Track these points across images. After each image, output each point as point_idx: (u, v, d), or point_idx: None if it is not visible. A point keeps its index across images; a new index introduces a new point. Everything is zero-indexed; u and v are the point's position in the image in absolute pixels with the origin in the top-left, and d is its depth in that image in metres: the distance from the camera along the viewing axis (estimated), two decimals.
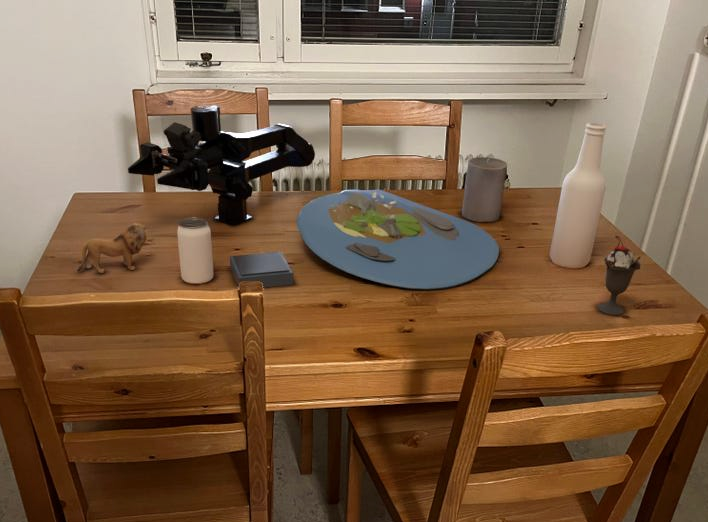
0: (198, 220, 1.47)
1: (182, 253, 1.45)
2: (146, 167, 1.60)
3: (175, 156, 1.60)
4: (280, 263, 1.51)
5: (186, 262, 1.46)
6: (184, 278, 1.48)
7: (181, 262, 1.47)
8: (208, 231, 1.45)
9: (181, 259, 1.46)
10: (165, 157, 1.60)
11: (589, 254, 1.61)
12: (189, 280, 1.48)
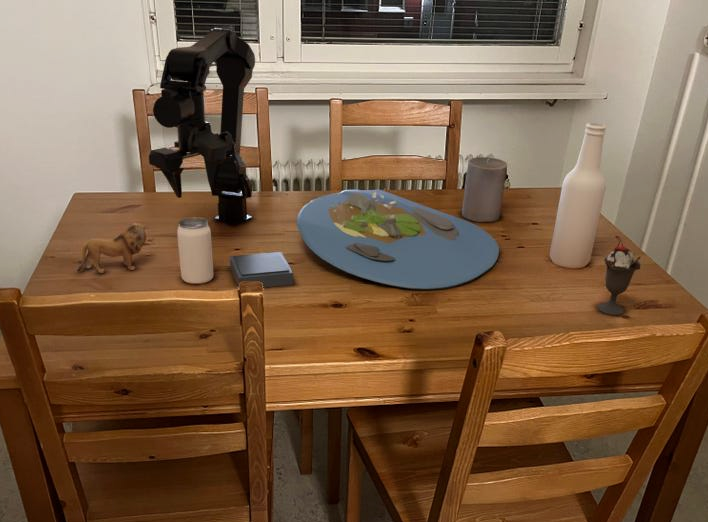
0: (198, 220, 1.47)
1: (182, 253, 1.45)
2: None
3: None
4: (280, 263, 1.51)
5: (186, 262, 1.46)
6: (184, 278, 1.48)
7: (181, 262, 1.47)
8: (208, 231, 1.45)
9: (181, 259, 1.46)
10: None
11: (589, 254, 1.61)
12: (189, 280, 1.48)
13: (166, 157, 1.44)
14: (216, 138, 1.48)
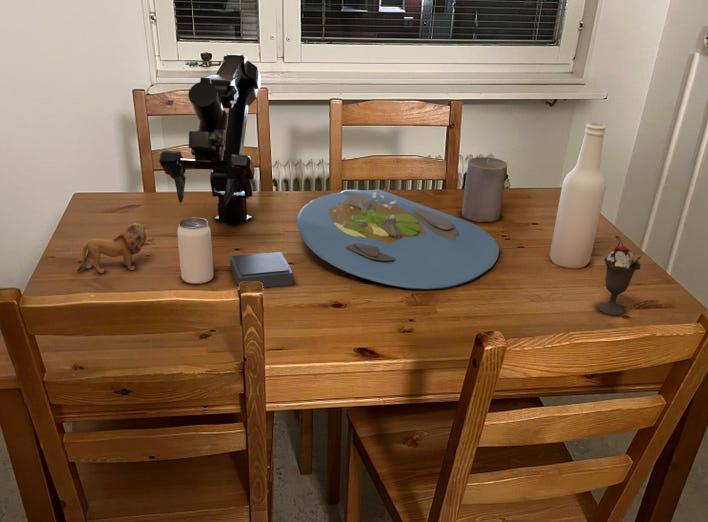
0: (198, 220, 1.47)
1: (182, 253, 1.45)
2: (182, 180, 1.52)
3: None
4: (280, 263, 1.51)
5: (186, 262, 1.46)
6: (184, 278, 1.48)
7: (181, 262, 1.47)
8: (208, 231, 1.45)
9: (181, 259, 1.46)
10: (194, 161, 1.51)
11: (589, 254, 1.61)
12: (189, 280, 1.48)
13: (162, 152, 1.51)
14: None
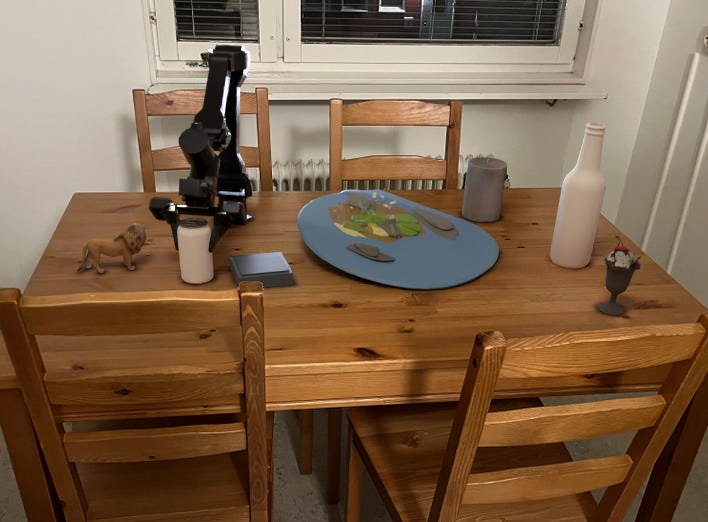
0: (198, 220, 1.47)
1: (182, 253, 1.45)
2: None
3: None
4: (280, 263, 1.51)
5: (186, 262, 1.46)
6: (184, 278, 1.48)
7: (181, 262, 1.47)
8: (208, 231, 1.45)
9: (181, 259, 1.46)
10: (191, 208, 1.47)
11: (589, 254, 1.61)
12: (189, 280, 1.48)
13: (152, 198, 1.47)
14: None
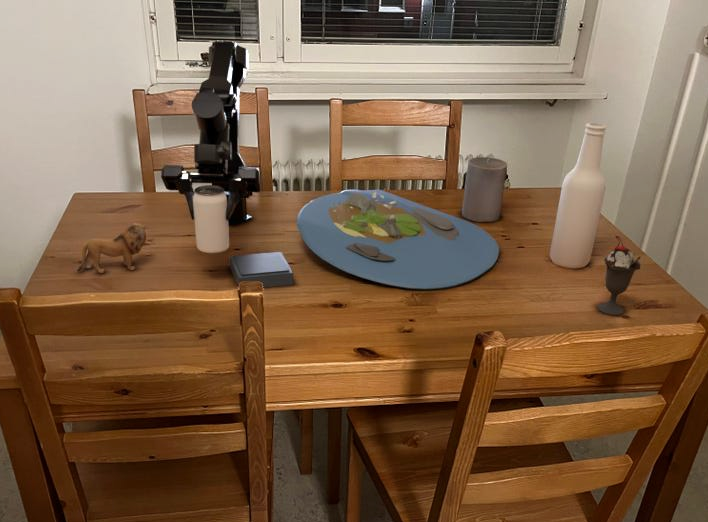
0: (213, 188, 1.43)
1: (199, 221, 1.42)
2: None
3: (206, 168, 1.44)
4: (280, 263, 1.51)
5: (203, 231, 1.43)
6: (201, 248, 1.45)
7: (197, 231, 1.43)
8: (225, 198, 1.42)
9: (198, 228, 1.43)
10: (204, 175, 1.44)
11: (589, 254, 1.61)
12: (207, 249, 1.44)
13: (164, 166, 1.42)
14: None
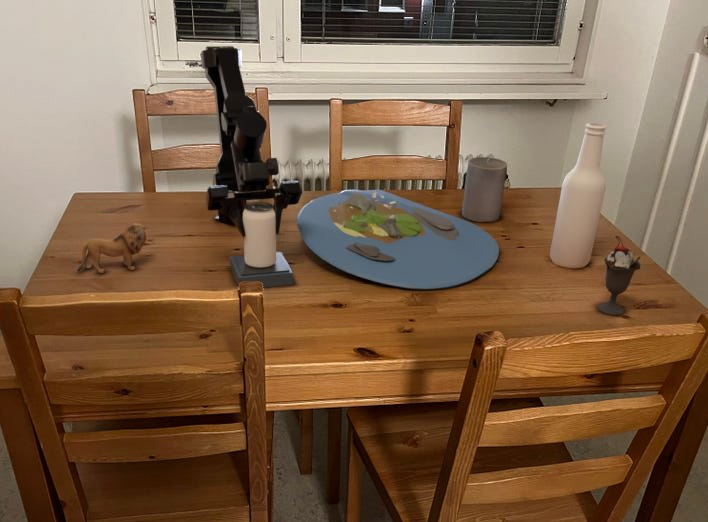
0: (259, 204, 1.47)
1: (253, 238, 1.45)
2: None
3: None
4: (280, 263, 1.51)
5: (257, 247, 1.46)
6: (253, 263, 1.48)
7: (250, 248, 1.47)
8: (274, 213, 1.46)
9: (250, 245, 1.46)
10: (248, 193, 1.47)
11: (589, 254, 1.61)
12: (260, 264, 1.48)
13: (209, 187, 1.44)
14: None
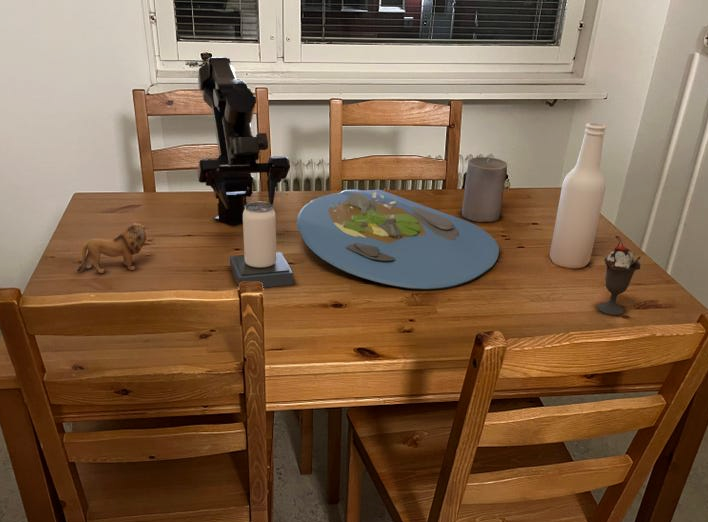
0: (259, 204, 1.47)
1: (253, 238, 1.45)
2: None
3: None
4: (280, 263, 1.51)
5: (257, 247, 1.46)
6: (253, 263, 1.48)
7: (250, 248, 1.47)
8: (274, 213, 1.46)
9: (250, 245, 1.46)
10: (232, 166, 1.53)
11: (589, 254, 1.61)
12: (260, 264, 1.48)
13: (201, 160, 1.50)
14: None
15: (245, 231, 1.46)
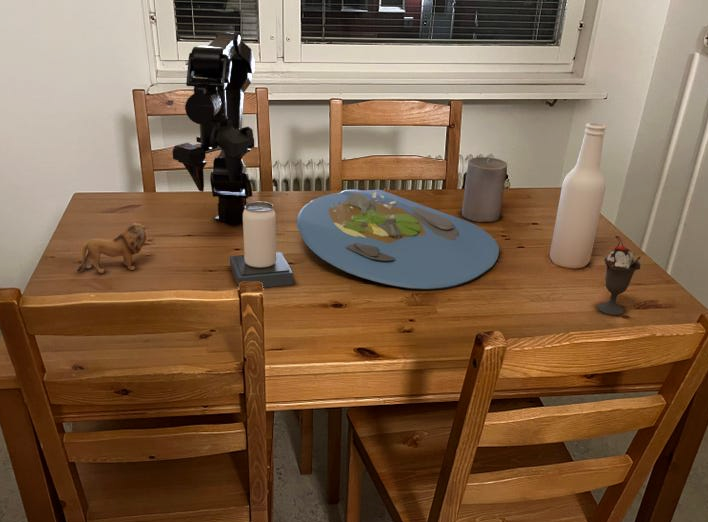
0: (259, 204, 1.47)
1: (253, 238, 1.45)
2: None
3: None
4: (280, 263, 1.51)
5: (257, 247, 1.46)
6: (253, 263, 1.48)
7: (250, 248, 1.47)
8: (274, 213, 1.46)
9: (250, 245, 1.46)
10: None
11: (589, 254, 1.61)
12: (260, 264, 1.48)
13: (190, 152, 1.48)
14: (238, 133, 1.52)
15: (245, 231, 1.46)
